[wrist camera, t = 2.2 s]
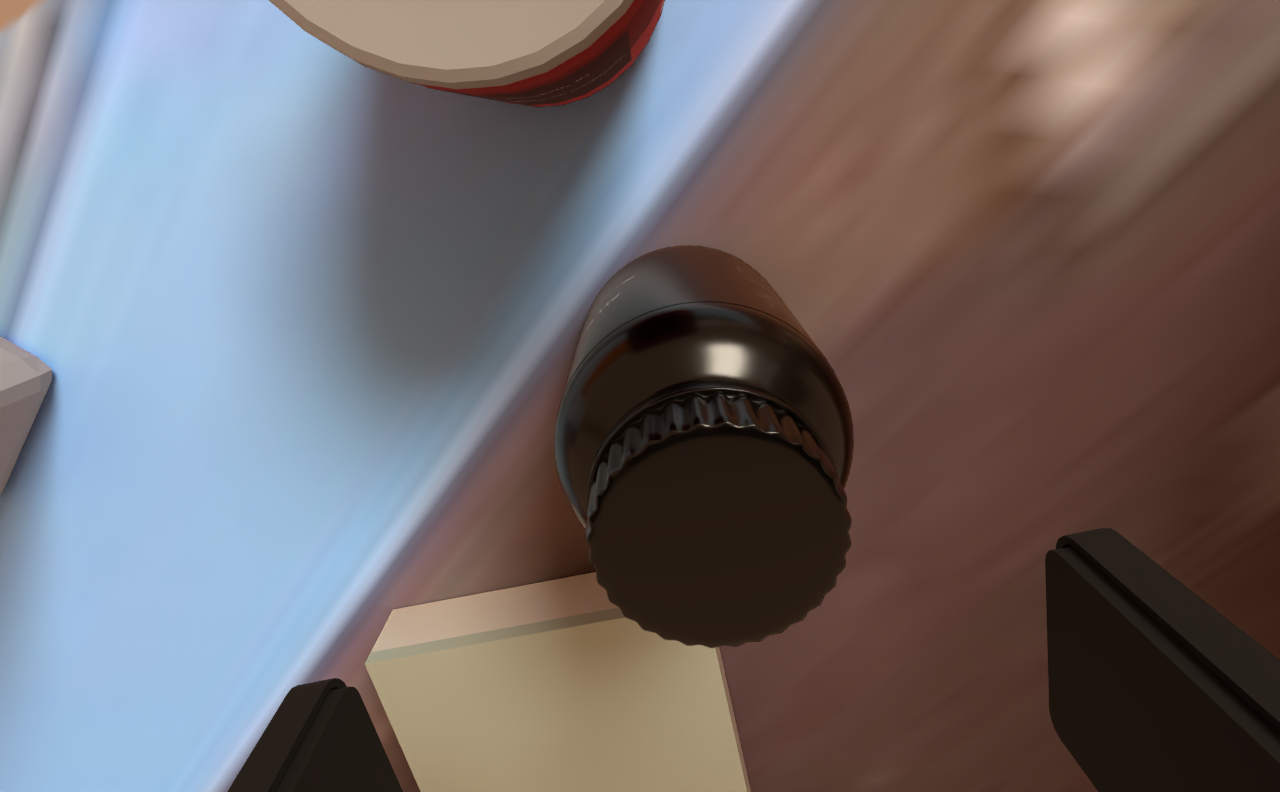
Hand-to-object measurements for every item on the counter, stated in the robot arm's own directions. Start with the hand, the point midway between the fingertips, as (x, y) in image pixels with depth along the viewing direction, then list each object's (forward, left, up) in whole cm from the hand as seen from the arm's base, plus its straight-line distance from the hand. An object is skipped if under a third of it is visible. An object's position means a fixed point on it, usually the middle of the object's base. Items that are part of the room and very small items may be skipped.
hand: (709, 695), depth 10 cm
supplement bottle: (-1, 0, -16) cm, 16 cm away
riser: (+6, +14, -15) cm, 22 cm away
